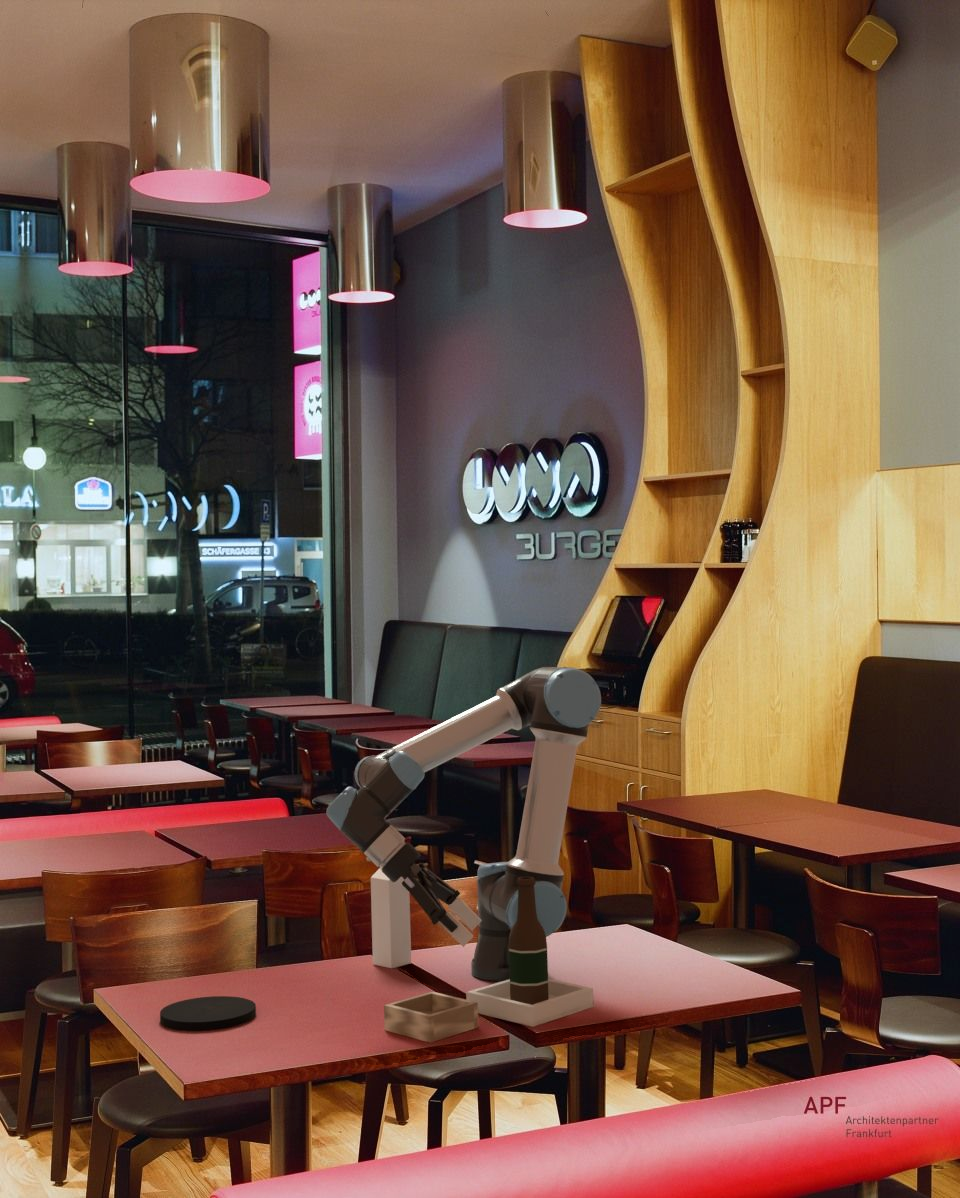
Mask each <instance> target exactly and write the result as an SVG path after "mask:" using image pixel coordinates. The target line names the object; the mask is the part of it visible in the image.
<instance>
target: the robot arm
mask: <svg viewBox="0 0 960 1198" xmlns="http://www.w3.org/2000/svg"><path fill="white" fill-rule="evenodd" d="M601 705H602V694H601V690H600V687H599V685H598V684H597V682H596V681H595V679H594V678H593V677H592V676H591V675H590V674H589V673H587V672H585V671H584V670H581V669H578V668H574V667H573V666H572V667H570V666H568V667H567V666H542V667H539V668H536V669H534V670H531V671H530V672H527V673H526V674H524V675H522V676H521V677H519V678H517V679H514V680H513V681H511V682H509V683H508V684H506V685H504V686H502V687H500V688H498V689H497V691H496V694H495V696H493V697H491V698H489V699H487V700H485V701H483V702H481V703H479V704H477V705H475V706H474V707H471V708H469V709H467V710H465V711H463V712H461V713H459V714H457V715H455V716H453V717H451V718H449V719H447V720H445V721H443V722H442V723H439V724H437V725H435V726H433V727H431V728H430V729H427V730H425V731H422V732H421V733H419V734H417V735H415V736H413V737H411V738H409V739H406V740H405V741H403V742H401V743H399V744H396V745H395V746H393V747H391V748H390V749H387V750H385V751H383V752H380V753H378V754H377V755H375V754H374V755H370V756H364V757H363V758H362V759H361V760H360V761H358V762H357V764H356V766H355V768H354V769H355V770H354V779H355V783H356V784H357V786H358V787H359V789H357V788H354V787H353V786H347V787H346V788H344V790H342V792H341V793H340V794H339V795H338V796H336V797H335V799H334V800H332V801H331V803H330V804H329V805H328V807H327V808H326V812H325V813H326V817H328V819H329V820H330V821H331V822H332V823H333V825H334V826H335V827H336V828H337V829H338V830H339V831H340V832H341V833H342V834H343V836H345V837H346V838H347V839H348V840H350V842H351V843H352V844H353V845H355V846H356V847H357V849H358V850H359V851H361V852H362V853H363V854H364V855H365V856H366V857H365V858H366V861H367V862H372V863H373V864H374V865H375V866H376V867H377V868H380V866H382V867H383V868H382V872H383V873H384V874H385V875H386V876H387V877H388V878H389V879H390V880H391V881H392V882H396V881H397V880H398V879H399V878H400V877H403V879H404V881H403V882H402V885H403V886H404V887H405V888H406V889H407V890H408V891H409V895H411V897H413V899H414V901H416V902H417V904H418V905H419V906H420V908H421V909H422V910H423V911H424V913H425V914H426V915H427V917H428V918H429V919H430V922H431V923H432V925H434V926H436V925H437V924H440V925H441V926H442V927H443V928H444V929H445V931H446V932H447V933H448V934H450V935H451V936H452V937H453V939H454V940H456V942H457V943H459V944H460V946H461V947H462V948H464V947H465V946H466V945H467V944H468V943H469V942H470V941H472V939H473V938H474V934H473V933H472V932H470V931H469V930H468V929H467V927H468V928H469V929H470V930H471V931H474V930H475V929H476V927H477V926H478V938H477V942H476V946H475V948H474V950H475V951H474V954H473V955H474V956H473V958H471V959H472V960H471V964H470V965H471V975H472V976H473V977H475V978H477V979H481V980H485V981H493V982H502V981H505V980H509V979H510V969H509V935H510V932H511V928H512V926H513V925H514V923H515V921H516V920H517V913H518V885H517V880H518V878H519V877H528V876H529V877H533V878H534V879H535V883H536V884H535V885H534V891H535V903H536V913H537V918H538V920H539V922H540V923H541V925H542V926H543V929H544V932H545V934H546V938H547V937H549V936H551V935H552V934H554V933H555V932H556V931H557V930H559V928H560V927H561V926H562V924H563V923H564V920H565V918H566V915H567V910H568V908H567V907H568V905H567V900H566V897H565V895H564V893H563V891H562V888H563V882H564V875H565V873H564V871H563V869H562V868H561V866H560V864H559V858H560V855H561V853H560V852H561V846H562V840H563V835H564V830H565V823H566V818H567V811H568V810H567V809H568V804H569V798H570V793H571V786H572V781H573V775H574V769H575V763H576V757H577V752H578V746H579V745H580V744H581V743H583V742H584V741H586V740H587V737H588V731H589V725H590V724H591V723H592V722H593V720H596V718H597V716H598V715H599V713H600V712H599V711H600V709H601ZM528 726H529V730H530V731H531V732H532V734H533V735H534V737H535V741H534V748H533V755H532V760H531V764H530V765H531V767H530V771H529V777H528V782H527V788H526V789H527V790H526V793H525V794H526V796H525V800H524V801H525V802H524V807H523V812H522V819H521V825H520V830H519V835H518V836H519V838H518V843H517V849H516V854H515V856H514V857H513V858H511V859H510V860H509V861H499V862H491V863H487V864H483V865H479V866H478V869H477V875H476V876H477V878H476V884H477V885H476V886H477V888H476V889H477V904H478V910H477V913H478V914H476V913H475V912H474V911H473V910H472V909H471V908H470V907H469V905H467V903H465V902H464V901H463V900H462V899H461V898H460V897H459V896H460V895H461V893H460V891H459V890H458V889H455V888H453V887H452V886H450V884H448V883H447V882H445V880H443V879H442V878H440V877H439V876H438V875H436V874H435V873H434V872H433V871H431V869H429V867H427V866H426V865H425V864H424V863H423V862H419V863H418V864H417V863H416V861H417V860H418V859H420V857H421V853H420V851H418V849H416V848H415V847H414V846H413V845H412V844H411V843H410V842H405V840H406V838H405V837H404V836H403V835H402V833H400V832H399V831H398V830H397V829H396V828H395V827H394V826H393V825H392V824H391V823H389V822H388V821H387V819H386V818H387V817H389V816H390V814H391V813H392V812H393V811H394V810H395V809H396V808H397V807H398V806H399V805H400V804H401V803H402V802H403V801H404V800H405V799H406V798H407V797H408V796H409V795H410V794H412V792H413V791H414V790H416V789H417V787H418V786H419V784H420V783H422V781H423V780H424V779H425V773H427V772H429V771H431V770H432V769H434V768H436V767H438V766H441V765H442V764H444V763H447V762H448V761H450V760H452V759H454V758H456V757H458V756H459V755H462V754H464V753H466V752H468V751H470V750H472V749H474V748H475V747H477V746H480V745H482V744H484V743H485V742H487V741H489V740H491V739H492V740H493V738H495V737H497V736H499V735H501V734H504V733H506V732H507V731H509V730H516V731H520V730H522V729H524V728H527V727H528ZM440 901H442V902H443V903H444V904H446V905H448V907H447V908H448V909H449V910H450V911H451V912H450V911H447V909H445V907H444V906H443V904H442V903H441V902H440ZM452 913H453V914H454V915H455V916H454V915H453V914H452ZM457 918H458V919H459V920H460V921H459V920H458V919H457ZM462 923H463V924H464V925H465V926H466V927H465V926H464V925H463V924H462Z"/></svg>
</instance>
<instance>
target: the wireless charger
mask: <svg viewBox="0 0 960 1198" xmlns="http://www.w3.org/2000/svg"><path fill="white" fill-rule="evenodd" d="M256 1007H257V1006H256V1003H255V1002H254V1001H252V1000H250V999H249V998H246V997H239V996H238V997H237V996H228V995H226V996H225V995H223V996H222V995H217V996H215V995H214V996H212V995H211V996H205V997H204V996H202V997H193V998H188V999H184V1000H180V1001H176V1002H173V1003H171V1004H168V1005H166V1006H164V1007H163V1008H162V1009H160V1012H159V1020H160V1022H159V1023H160V1025H161V1026H163V1027H164V1028H167V1029H169V1030H173V1031H174V1030H175V1031H180V1032H209V1031H218V1030H225V1029H229V1028H234V1027H238V1026H241V1025H244V1024H247V1023H249V1022H251V1021H252V1020H253V1019H254V1018H256V1016H257V1008H256Z"/></svg>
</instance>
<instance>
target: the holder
mask: <svg viewBox="0 0 960 1198" xmlns="http://www.w3.org/2000/svg"><path fill="white" fill-rule="evenodd" d="M383 1009H384V1010H383V1011H384V1012H383V1014H384V1015H383V1016H384V1017H383V1018H384V1019H383V1020H384V1021H383V1022H384V1031H386V1032H390V1033H395V1034H398V1035H401V1036H404V1037H405V1036H406V1037H409V1038H412V1039H416V1040H419V1041H423V1042H426V1043H434V1042H437V1041H440V1040H443V1039H445V1038H449V1037H452V1036H455V1035H460V1034H462V1033H464V1032H469V1031H470V1030H474V1029H477V1028H479V1013H478V1002H474V1001H470V1000H466V998H465V999H464V998H461V997H457V996H453V995H448V994H444V993H440V992H435V991H429V992H426V993H422V994H417V995H414V996H411V997H408V998H405V999H402V1000H397V1001H395V1002H391V1003H387V1004H384V1005H383Z"/></svg>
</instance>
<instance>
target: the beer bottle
mask: <svg viewBox="0 0 960 1198" xmlns="http://www.w3.org/2000/svg"><path fill="white" fill-rule="evenodd" d="M535 884H536V883H535V879H534V878H533V877H529V876H528V877H519V878H518V880H517V885H518V913H517V920H516V921H515V923H514V925H513V926H512V928H511V932H510V935H509V969H510V998H511V1000H513V1001H517V1002H522V1003H526V1004H530V1005H533V1004H536V1003H540V1002H543V1001H546V1000H548V979H549V967H548V966H549V964H548V963H549V962H548V943H547V937H546V934H545V932H544V929H543V926H542V925H541V923H540V922H539V920H538V918H537V913H536V903H535V891H534V885H535Z"/></svg>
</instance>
